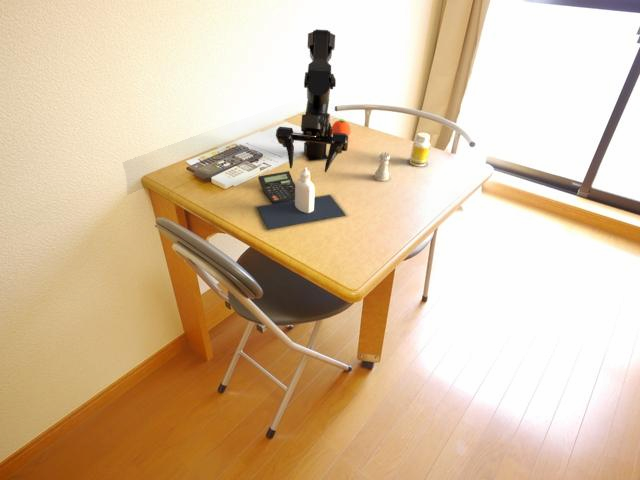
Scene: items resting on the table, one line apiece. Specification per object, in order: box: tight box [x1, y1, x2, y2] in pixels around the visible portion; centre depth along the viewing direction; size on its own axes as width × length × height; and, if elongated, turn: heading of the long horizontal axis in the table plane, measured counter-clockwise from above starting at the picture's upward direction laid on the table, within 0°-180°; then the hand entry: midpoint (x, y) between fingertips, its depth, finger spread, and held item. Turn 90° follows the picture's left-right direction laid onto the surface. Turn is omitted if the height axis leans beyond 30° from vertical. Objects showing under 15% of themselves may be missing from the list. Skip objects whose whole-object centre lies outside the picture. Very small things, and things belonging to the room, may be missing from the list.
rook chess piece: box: [374, 152, 391, 182], centre depth 122 cm, size 4×4×8 cm
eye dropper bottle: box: [294, 166, 316, 213], centre depth 104 cm, size 4×6×12 cm
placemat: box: [256, 194, 346, 230], centre depth 107 cm, size 21×10×1 cm, turn 112°
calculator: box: [257, 170, 295, 204], centre depth 114 cm, size 9×12×3 cm
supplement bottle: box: [409, 132, 431, 167], centre depth 132 cm, size 5×5×10 cm
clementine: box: [331, 119, 352, 137], centre depth 145 cm, size 8×7×7 cm
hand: (308, 169), depth 106 cm, fingers open, 9 cm apart
